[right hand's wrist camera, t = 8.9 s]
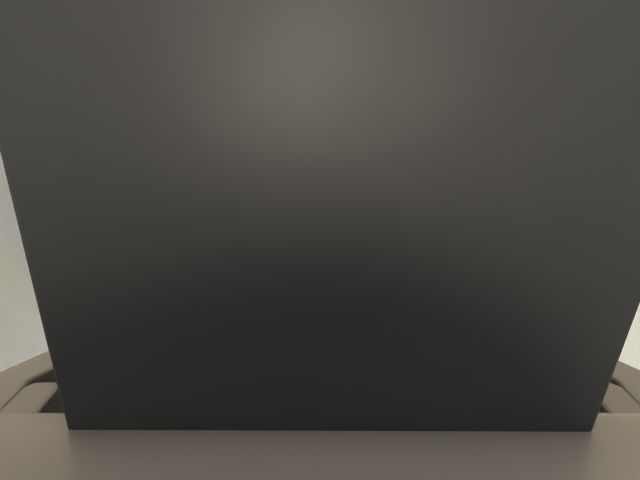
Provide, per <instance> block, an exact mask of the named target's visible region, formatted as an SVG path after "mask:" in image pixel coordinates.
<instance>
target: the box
mask: <svg viewBox="0 0 640 480" xmlns="http://www.w3.org/2000/svg"><path fill="white" fill-rule="evenodd" d="M0 152H1V156H2V160H3V164H4V168H5V172H6V176H7V180H8V184H9V189H10V193H11V197H12V201H13V205H14V209H15V213H16V217H17V221H18V226H19V230H20V234H21V238H22V242H23V246H24V250H25V254H26V258H27V263H28V267H29V271H30V275H31V279H32V283H33V287H34V291H35V295H36V300H37V304H38V308H39V312H40V316H41V320H42V324H43V328H44V332H45V337H46V341H47V345H48V349H49V353H50V357H51V361H52V365H53V369H54V374H55V378H56V382H57V386H58V390H59V394H60V398H61V402H62V406H63V411H64V415H65V419H66V423H67V427H68V429H69V430H243V431H516V432H590V431H592V429H593V426H594V424H595V421H596V418H597V416H598V413H599V410H600V408H601V405H602V402H603V400H604V397H605V394H606V391H607V389H608V386H609V383H610V381H611V378H612V375H613V373H614V370H615V367H616V365H617V362H618V359H619V357H620V354H621V351H622V348H623V346H624V343H625V340H626V338H627V335H628V332H629V330H630V327H631V324H632V322H633V319H634V316H635V313H636V311H637V308H638V305H639V303H640V0H0Z"/></svg>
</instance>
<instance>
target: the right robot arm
mask: <svg viewBox="0 0 640 480" xmlns="http://www.w3.org/2000/svg"><path fill="white" fill-rule="evenodd" d="M0 480H640V370H638V369H636V368H633V367H631V366H629V365H626V364H624V363H622V362H620V361H618V362H617V365H616V367H615V370H614V373H613V375H612V378H611V381H610V383H609V386H608V389H607V391H606V394H605V397H604V400H603V402H602V405H601V408H600V410H599V413H598V416H597V418H596V421H595V424H594V426H593V429H592V431H590V432H516V431H243V430H69V429H68V427H67V423H66V419H65V415H64V411H63V406H62V402H61V398H60V394H59V390H58V386H57V382H56V378H55V374H54V369H53V365H52V361H51V357H50V353H49V351H48V352H45V353H43V354H41V355H39V356H36V357H34V358H32V359H30V360H28V361H25V362H23V363H21V364H19V365H16V366H14V367H12V368H10V369H7V370H5V371H3V372H1V373H0Z"/></svg>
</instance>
